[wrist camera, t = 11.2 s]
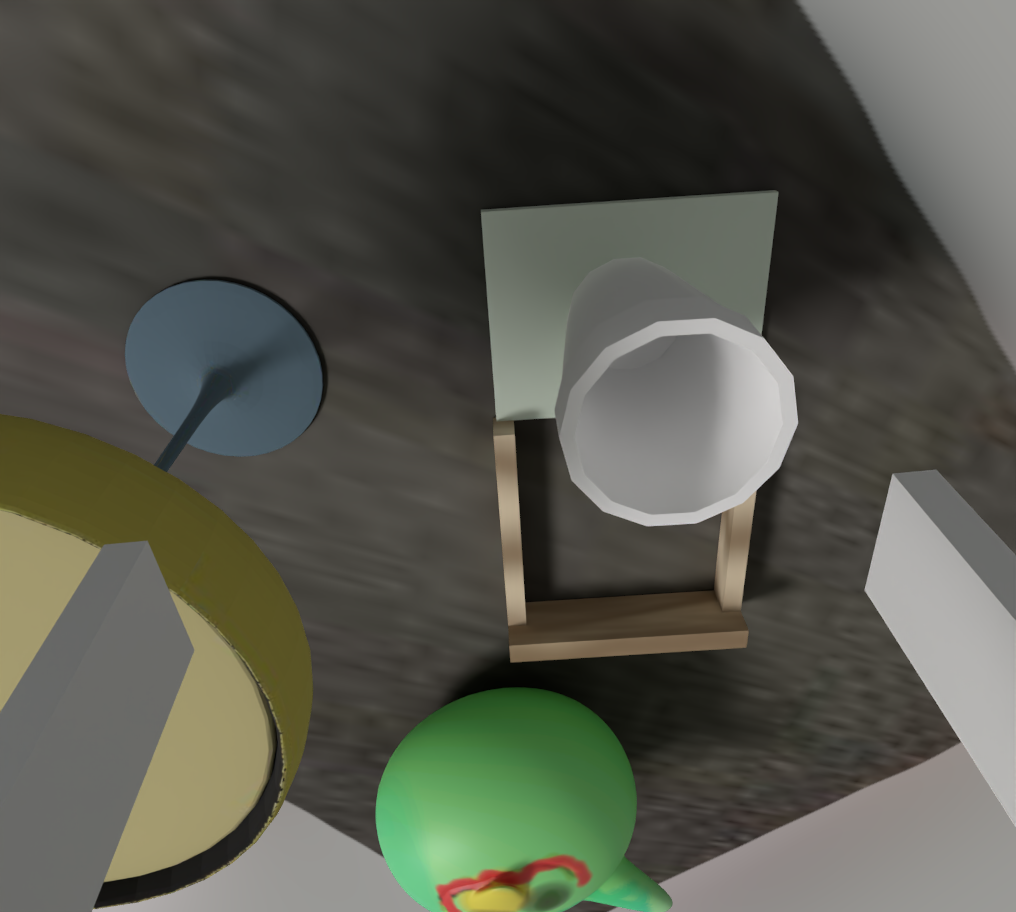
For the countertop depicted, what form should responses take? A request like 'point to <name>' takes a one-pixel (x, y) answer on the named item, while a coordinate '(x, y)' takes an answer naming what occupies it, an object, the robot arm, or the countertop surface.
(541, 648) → the wooden u-shaped frame
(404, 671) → the countertop surface
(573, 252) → the pad
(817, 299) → the countertop surface
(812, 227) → the countertop surface
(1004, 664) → the robot arm
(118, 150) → the countertop surface
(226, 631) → the cocktail glass
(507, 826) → the toy bird
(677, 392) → the foam cup
